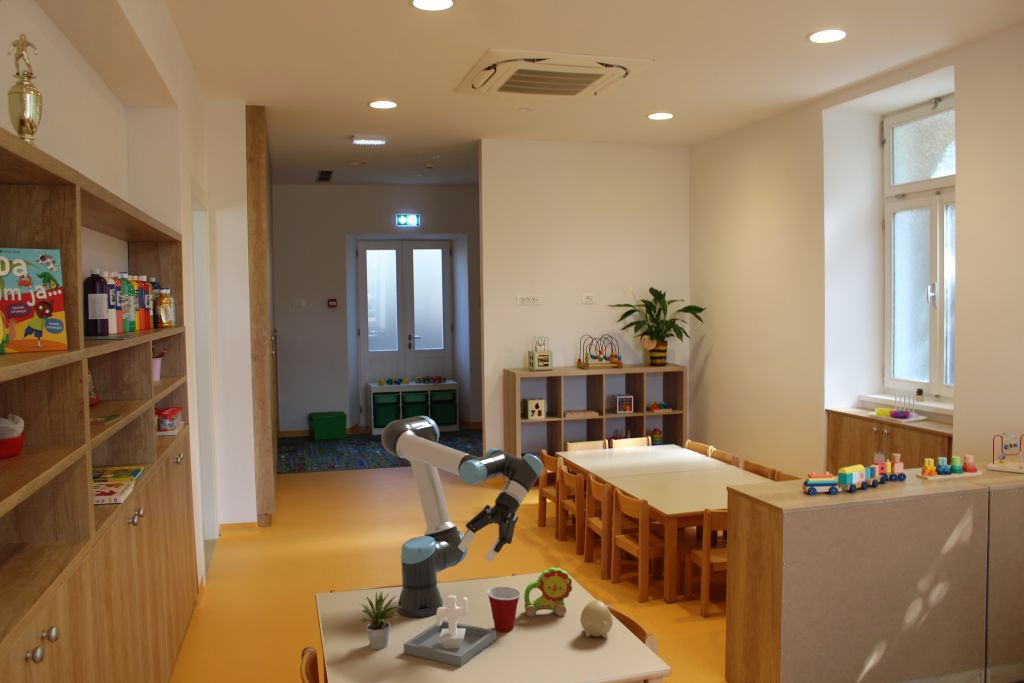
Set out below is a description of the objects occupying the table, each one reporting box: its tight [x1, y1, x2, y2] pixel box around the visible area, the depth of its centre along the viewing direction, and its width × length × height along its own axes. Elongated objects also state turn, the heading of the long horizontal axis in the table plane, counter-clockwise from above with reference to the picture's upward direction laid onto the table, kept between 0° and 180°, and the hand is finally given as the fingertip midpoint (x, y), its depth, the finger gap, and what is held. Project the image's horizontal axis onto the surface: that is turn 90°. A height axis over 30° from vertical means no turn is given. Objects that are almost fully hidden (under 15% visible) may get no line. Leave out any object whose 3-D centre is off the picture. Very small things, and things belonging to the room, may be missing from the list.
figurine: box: [436, 594, 469, 648], centre depth 242 cm, size 7×9×15 cm
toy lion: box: [523, 566, 573, 618], centre depth 267 cm, size 16×5×15 cm, turn 92°
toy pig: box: [579, 599, 614, 639], centre depth 249 cm, size 10×12×11 cm
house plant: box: [359, 591, 399, 650], centre depth 244 cm, size 14×14×16 cm
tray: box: [403, 619, 497, 668], centre depth 243 cm, size 20×20×3 cm
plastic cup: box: [486, 585, 522, 633], centre depth 256 cm, size 11×11×12 cm
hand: (474, 554), depth 249 cm, fingers open, 13 cm apart
